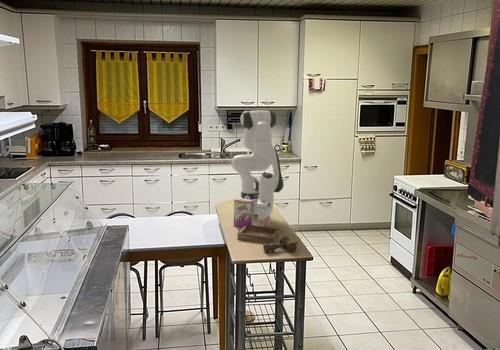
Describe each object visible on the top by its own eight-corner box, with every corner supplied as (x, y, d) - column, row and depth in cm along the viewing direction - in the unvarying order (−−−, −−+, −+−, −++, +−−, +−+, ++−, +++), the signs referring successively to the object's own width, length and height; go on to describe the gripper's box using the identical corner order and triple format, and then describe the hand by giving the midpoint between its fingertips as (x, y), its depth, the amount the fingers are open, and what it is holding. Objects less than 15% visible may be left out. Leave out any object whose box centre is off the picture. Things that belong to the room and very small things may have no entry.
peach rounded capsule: (261, 227, 267) (262, 214, 265) (270, 228, 265) (271, 216, 264) (259, 230, 262) (259, 217, 260) (268, 231, 260) (268, 218, 258)
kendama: (260, 250, 233) (294, 244, 241) (268, 257, 225) (303, 251, 233) (260, 239, 232) (294, 234, 240) (268, 246, 223) (303, 240, 231)
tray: (246, 230, 262) (246, 224, 261) (279, 234, 256) (279, 228, 255) (237, 239, 247) (237, 233, 246) (272, 243, 241) (272, 237, 240)
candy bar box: (233, 225, 269) (233, 199, 265) (236, 223, 274) (236, 197, 270) (250, 228, 265) (251, 201, 262) (253, 225, 270) (254, 199, 267)
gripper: (265, 196, 270) (264, 218, 273) (255, 204, 251) (255, 228, 254) (275, 197, 269) (274, 219, 272) (266, 206, 250) (265, 229, 252)
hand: (265, 223), depth 263 cm, fingers open, 8 cm apart
